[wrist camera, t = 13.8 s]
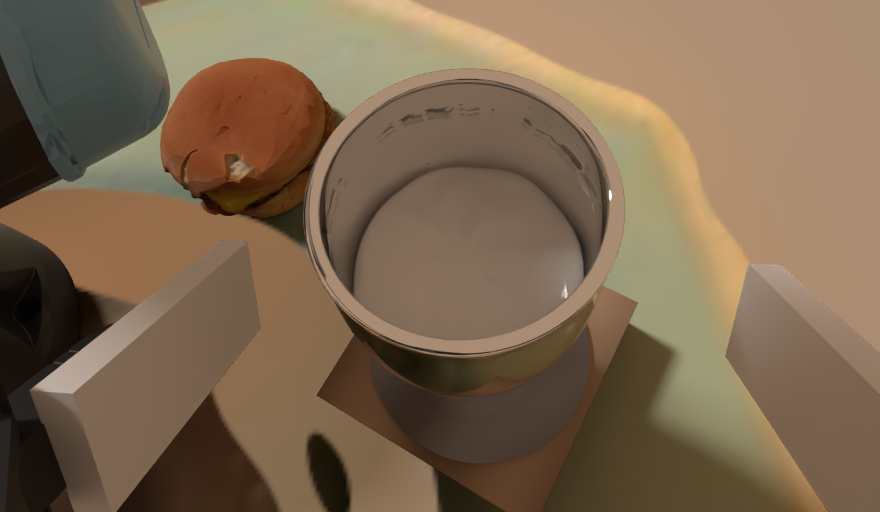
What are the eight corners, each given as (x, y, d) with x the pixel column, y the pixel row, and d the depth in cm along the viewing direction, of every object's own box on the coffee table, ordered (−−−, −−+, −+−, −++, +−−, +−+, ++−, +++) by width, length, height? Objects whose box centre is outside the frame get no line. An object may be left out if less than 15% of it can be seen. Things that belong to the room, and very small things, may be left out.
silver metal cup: (564, 298, 25) (663, 92, 12) (529, 449, 23) (600, 417, 9) (424, 261, 27) (359, 34, 13) (377, 401, 24) (236, 311, 10)
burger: (302, 68, 36) (277, 14, 32) (366, 172, 33) (348, 127, 29) (165, 138, 35) (120, 91, 31) (218, 252, 32) (175, 218, 27)
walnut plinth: (333, 402, 28) (314, 394, 25) (439, 229, 31) (434, 202, 28) (527, 522, 25) (534, 529, 22) (622, 319, 28) (639, 300, 25)
